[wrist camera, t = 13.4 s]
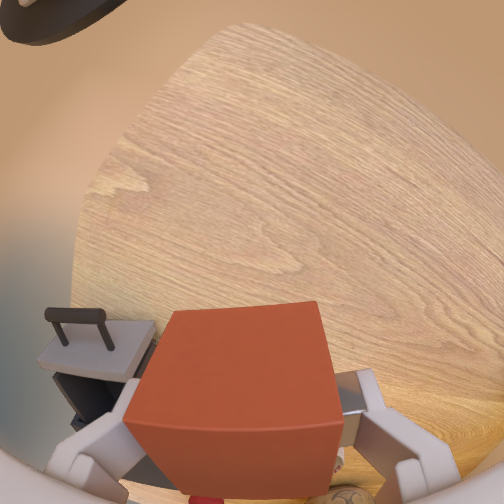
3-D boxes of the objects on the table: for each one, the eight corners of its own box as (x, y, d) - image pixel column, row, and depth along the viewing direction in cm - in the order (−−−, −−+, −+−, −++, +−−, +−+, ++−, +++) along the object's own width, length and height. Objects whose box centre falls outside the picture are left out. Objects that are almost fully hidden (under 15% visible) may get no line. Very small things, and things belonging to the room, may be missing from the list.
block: (203, 399, 11) (182, 494, 6) (173, 309, 9) (120, 420, 5) (315, 395, 10) (327, 495, 6) (316, 299, 9) (345, 422, 4)
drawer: (57, 285, 27) (16, 323, 19) (142, 281, 26) (104, 330, 18) (112, 397, 33) (91, 438, 26) (186, 405, 32) (173, 455, 25)
